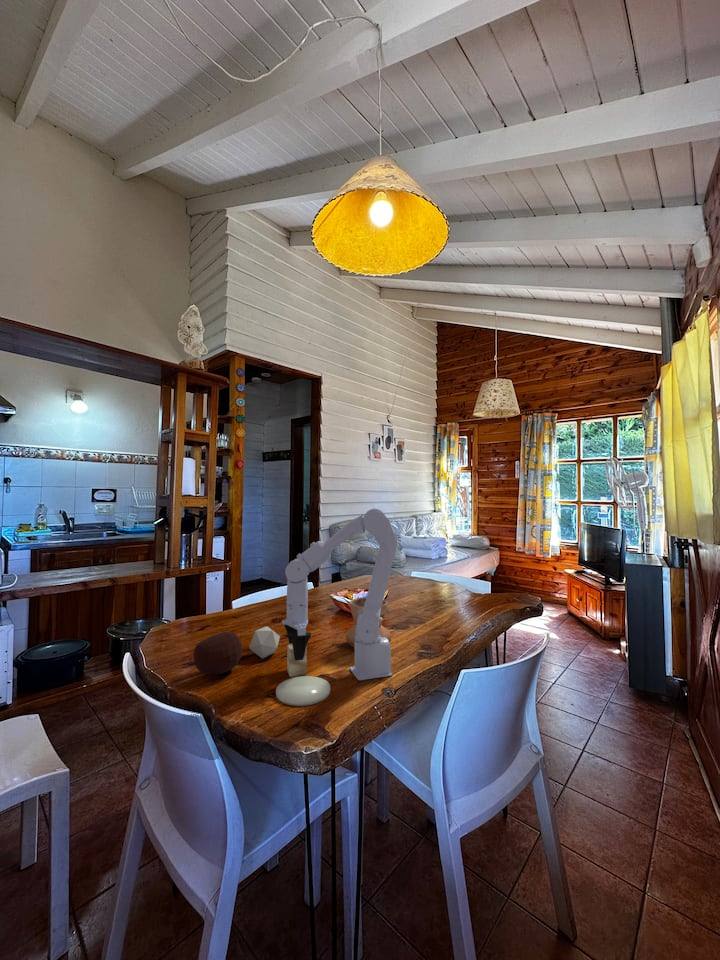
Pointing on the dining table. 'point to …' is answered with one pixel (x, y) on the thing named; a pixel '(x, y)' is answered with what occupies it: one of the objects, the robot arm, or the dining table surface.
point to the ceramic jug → (356, 609)
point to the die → (264, 642)
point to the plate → (303, 691)
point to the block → (295, 663)
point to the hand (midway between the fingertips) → (296, 654)
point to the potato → (218, 653)
